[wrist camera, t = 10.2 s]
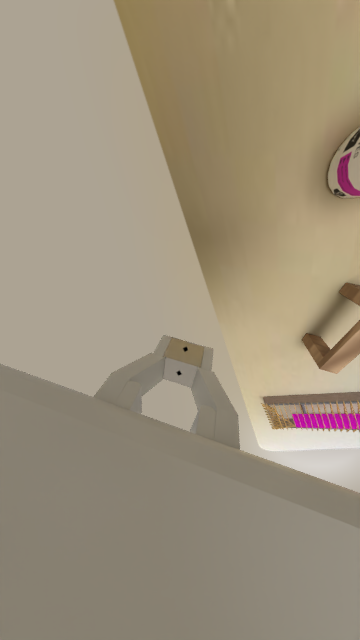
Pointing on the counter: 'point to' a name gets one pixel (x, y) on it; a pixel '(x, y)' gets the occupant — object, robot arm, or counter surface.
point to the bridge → (345, 349)
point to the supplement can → (346, 168)
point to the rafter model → (314, 420)
